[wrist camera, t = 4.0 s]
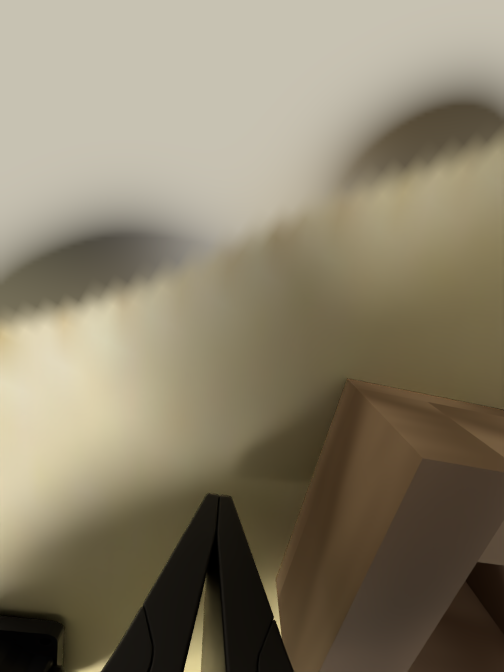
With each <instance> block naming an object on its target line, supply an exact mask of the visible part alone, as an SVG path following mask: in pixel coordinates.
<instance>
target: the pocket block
mask: <svg viewBox="0 0 504 672" xmlns="http://www.w3.org/2000/svg"><path fill="white" fill-rule="evenodd" d="M276 587H277V597H278V606H279V615H280V625H281V634H282V641H283V643H284V646H285V649H286V651H287V654H288V656H289V659H290V662H291V664H292V667H293V669H294V672H504V410H502V409H497V408H492V407H487V406H482V405H477V404H472V403H467V402H462V401H457V400H452V399H447V398H442V397H437V396H432V395H427V394H422V393H417V392H412V391H407V390H402V389H397V388H392V387H387V386H382V385H377V384H372V383H367V382H362V381H357V380H352V379H348V378H347V380H346V383H345V386H344V389H343V392H342V394H341V397H340V400H339V403H338V406H337V408H336V411H335V414H334V417H333V420H332V423H331V425H330V428H329V431H328V434H327V437H326V439H325V442H324V445H323V448H322V451H321V453H320V456H319V459H318V462H317V465H316V467H315V470H314V473H313V476H312V479H311V481H310V484H309V487H308V490H307V493H306V496H305V498H304V501H303V504H302V507H301V510H300V512H299V515H298V518H297V521H296V524H295V526H294V529H293V532H292V535H291V538H290V540H289V543H288V546H287V549H286V552H285V555H284V557H283V560H282V563H281V566H280V569H279V571H278V574H277V577H276Z"/></svg>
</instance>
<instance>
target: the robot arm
mask: <svg viewBox="0 0 504 672" xmlns="http://www.w3.org/2000/svg"><path fill="white" fill-rule="evenodd" d="M205 578H206V583H205ZM204 583H205V601H204V621H203V642H202V662H201V672H294V669H293V667H292V664H291V662H290V659H289V656H288V654H287V651H286V649H285V646H284V643H283V641H282V638H281V635H280V632H279V629H278V627H277V624H276V621H275V620H273V619H274V616H273V613H272V610H271V607H270V604H269V601H268V599H267V596H266V593H265V590H264V587H263V584H262V582H261V579H260V576H259V573H258V570H257V567H256V565H255V562H254V559H253V556H252V553H251V550H250V548H249V545H248V542H247V539H246V536H245V533H244V531H243V528H242V525H241V522H240V519H239V516H238V513H237V511H236V508H235V505H234V502H233V499H232V497H231V496H227V495H220V496H219V495H218V494H213V493H208V494H206V496H205V498H204V499H203V501H202V503H201V505H200V506H199V508H198V510H197V512H196V513H195V515H194V517H193V518H192V520H191V522H190V524H189V525H188V527H187V529H186V531H185V532H184V534H183V536H182V537H181V539H180V541H179V543H178V544H177V546H176V548H175V549H174V551H173V553H172V555H171V556H170V558H169V560H168V562H167V563H166V565H165V567H164V568H163V570H162V572H161V574H160V575H159V577H158V579H157V581H156V582H155V584H154V586H153V587H152V589H151V591H150V593H149V594H148V596H147V598H146V599H145V601H144V603H143V607H141V608H140V609H139V611H138V613H137V615H136V616H135V618H134V620H133V622H132V623H131V625H130V627H129V628H128V630H127V631H126V633H125V635H124V636H123V638H122V640H121V641H120V643H119V645H118V646H117V648H116V649H115V651H114V653H113V654H112V656H111V657H110V659H109V660H108V662H107V663H106V665H105V666H104V668H103V669H102V671H101V672H184V667H185V663H186V659H187V655H188V650H189V646H190V642H191V638H192V633H193V629H194V625H195V621H196V617H197V612H198V608H199V604H200V600H201V595H202V591H203V587H204ZM63 647H64V626H63V625H62V624H60V623H58V622H55V621H48V620H37V619H26V618H16V617H5V616H0V672H64V667H63Z"/></svg>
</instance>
